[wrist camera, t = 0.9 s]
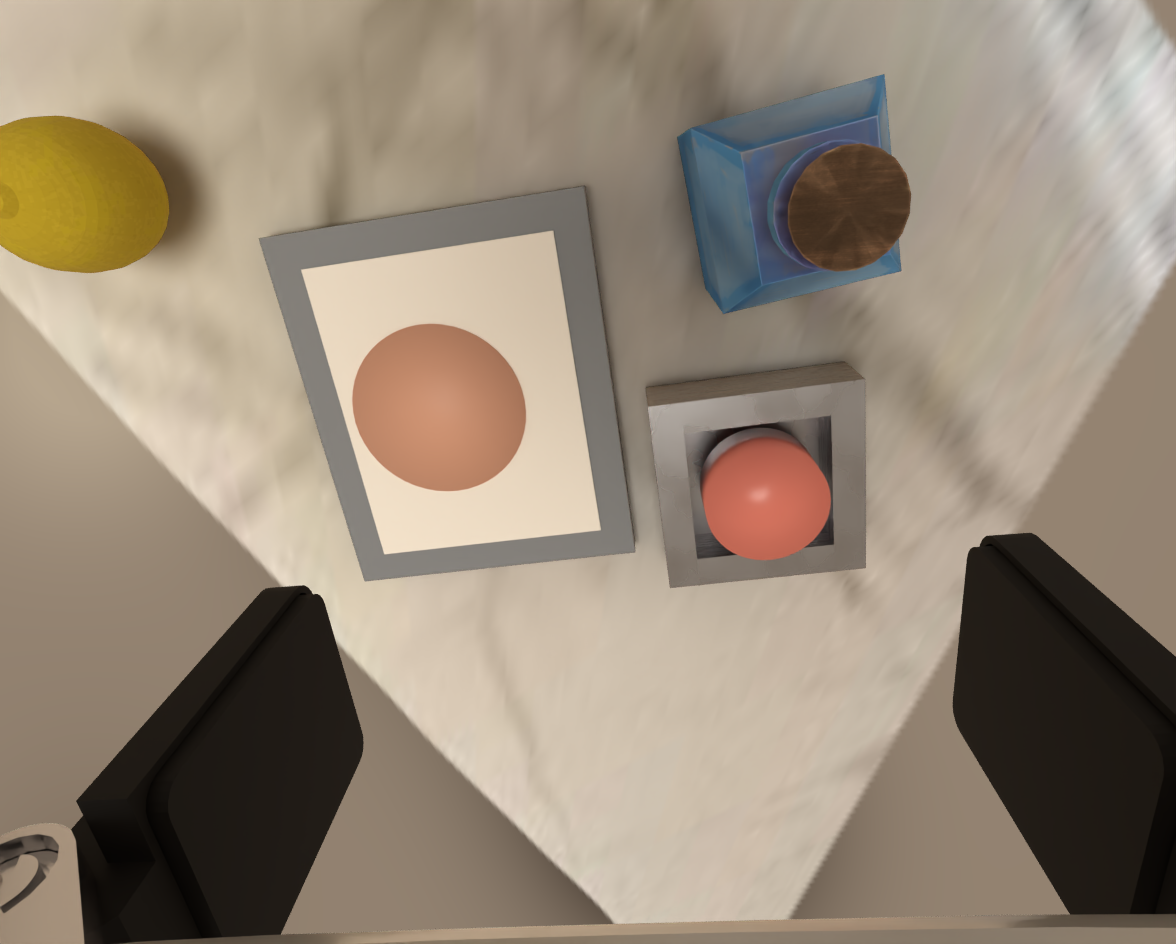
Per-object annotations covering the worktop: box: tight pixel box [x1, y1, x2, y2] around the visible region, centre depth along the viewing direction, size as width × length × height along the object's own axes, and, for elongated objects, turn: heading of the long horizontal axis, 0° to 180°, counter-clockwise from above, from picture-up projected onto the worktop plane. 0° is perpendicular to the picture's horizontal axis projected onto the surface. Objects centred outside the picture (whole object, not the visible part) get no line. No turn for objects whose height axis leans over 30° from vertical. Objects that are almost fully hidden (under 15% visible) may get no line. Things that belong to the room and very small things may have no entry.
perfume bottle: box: [677, 74, 911, 314], centre depth 24 cm, size 6×6×12 cm
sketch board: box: [259, 186, 635, 581], centre depth 33 cm, size 17×14×1 cm
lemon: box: [0, 116, 169, 273], centre depth 27 cm, size 6×6×8 cm
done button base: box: [646, 362, 866, 588], centre depth 33 cm, size 9×9×3 cm
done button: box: [700, 428, 831, 560], centre depth 31 cm, size 5×5×3 cm
